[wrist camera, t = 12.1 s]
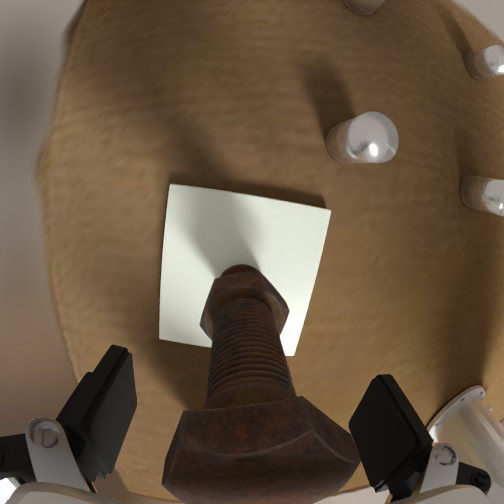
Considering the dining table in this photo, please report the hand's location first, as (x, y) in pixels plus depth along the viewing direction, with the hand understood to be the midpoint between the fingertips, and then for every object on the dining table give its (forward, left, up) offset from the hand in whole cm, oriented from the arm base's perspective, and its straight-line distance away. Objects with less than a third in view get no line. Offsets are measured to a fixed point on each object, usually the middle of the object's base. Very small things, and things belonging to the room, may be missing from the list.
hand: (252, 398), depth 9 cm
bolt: (0, 0, -11) cm, 11 cm away
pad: (+1, 0, -12) cm, 12 cm away
